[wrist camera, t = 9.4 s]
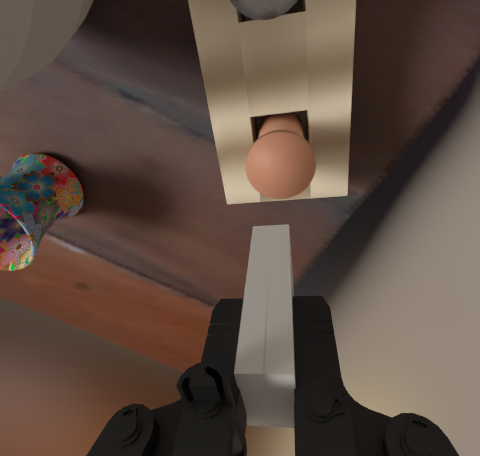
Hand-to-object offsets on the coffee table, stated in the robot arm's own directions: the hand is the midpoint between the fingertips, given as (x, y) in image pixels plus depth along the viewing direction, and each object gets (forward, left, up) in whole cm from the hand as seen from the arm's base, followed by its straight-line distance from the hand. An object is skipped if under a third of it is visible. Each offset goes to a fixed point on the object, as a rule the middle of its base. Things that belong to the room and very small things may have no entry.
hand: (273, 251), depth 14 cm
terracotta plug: (0, 0, -18) cm, 18 cm away
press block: (-5, 0, -21) cm, 22 cm away
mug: (+4, -29, -21) cm, 36 cm away
